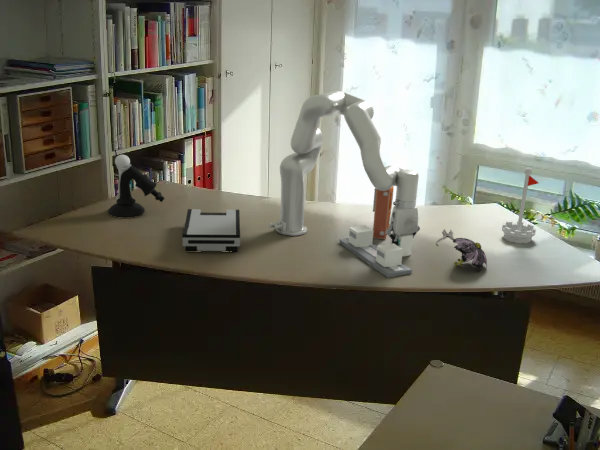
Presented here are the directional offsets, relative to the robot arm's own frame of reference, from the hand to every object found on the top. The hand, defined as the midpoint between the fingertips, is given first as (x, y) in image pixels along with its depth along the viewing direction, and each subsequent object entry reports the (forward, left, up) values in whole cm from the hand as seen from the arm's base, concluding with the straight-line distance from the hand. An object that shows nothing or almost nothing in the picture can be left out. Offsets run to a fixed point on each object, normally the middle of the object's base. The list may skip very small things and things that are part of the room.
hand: (401, 248), depth 262 cm
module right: (-12, -10, 0) cm, 16 cm away
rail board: (-12, 0, -2) cm, 12 cm away
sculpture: (-82, +78, -2) cm, 113 cm away
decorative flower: (+16, -20, -2) cm, 26 cm away
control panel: (+4, +21, -2) cm, 21 cm away
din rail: (-12, 0, 0) cm, 12 cm away
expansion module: (0, 0, -2) cm, 2 cm away
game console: (-62, +38, -3) cm, 73 cm away
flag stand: (+55, -3, -2) cm, 55 cm away
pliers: (+26, +7, -3) cm, 27 cm away
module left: (-12, +10, 0) cm, 16 cm away
